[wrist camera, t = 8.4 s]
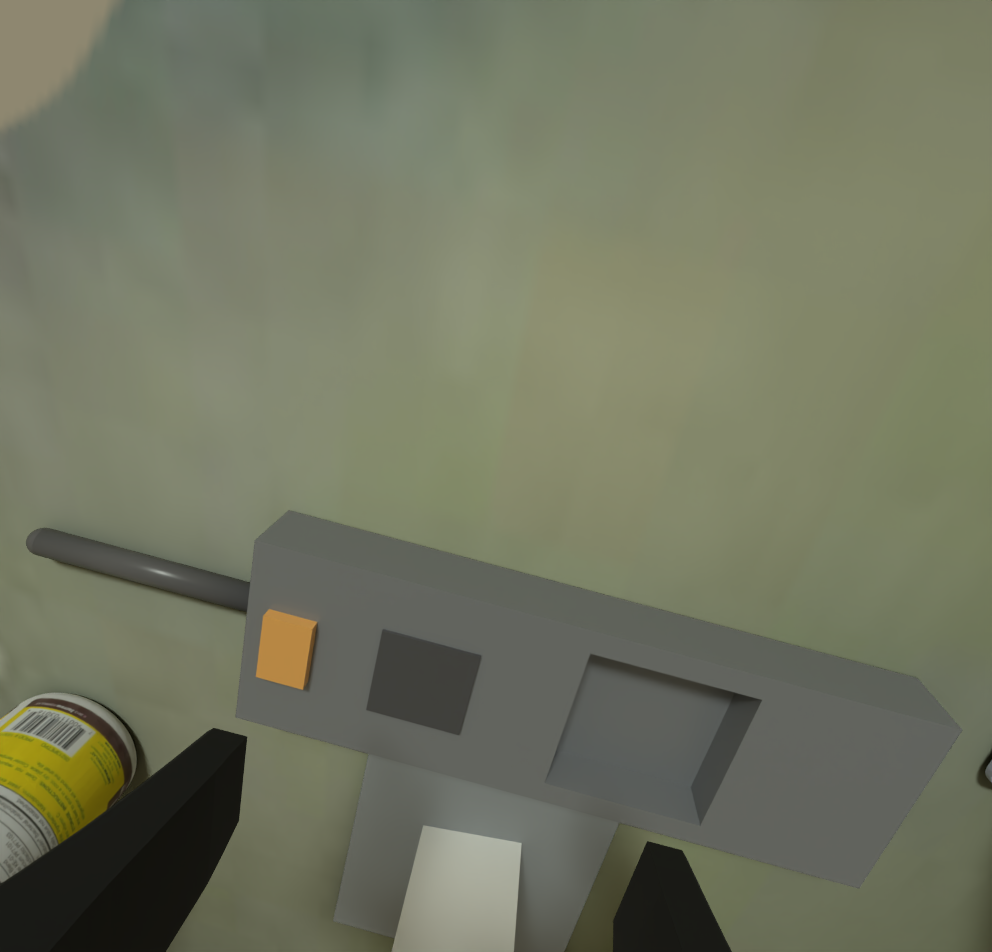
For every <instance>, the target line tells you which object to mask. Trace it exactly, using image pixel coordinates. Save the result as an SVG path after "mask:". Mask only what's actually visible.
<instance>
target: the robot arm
mask: <svg viewBox="0 0 992 952" xmlns="http://www.w3.org/2000/svg"><path fill="white" fill-rule="evenodd" d="M246 743H247V737H246V736H243V735H239V734H235V733H231V732H227V731H223V730H220V729H216V728H213V729H211V730H209V731H207V732H206V733H205V734H204V735H203V736H201V737H200V738H199V739H198V740H196V741H195V742H194V743H193V744H191V745H190V746H189V747H188V748H186V749H185V750H184V751H183V752H182V753H180V754H179V755H178V756H177V757H175V758H174V759H173V760H172V761H170V762H169V763H168V764H166V765H165V766H164V767H163V768H161V769H160V770H159V771H158V772H156V773H155V774H154V775H152V776H151V777H150V778H149V779H147V780H146V781H145V782H143V783H142V784H141V785H140V786H138V787H137V788H136V789H134V790H133V791H132V792H130V793H129V794H128V795H126V796H125V797H124V798H122V799H121V800H120V801H118V802H117V803H116V804H114V805H113V806H111V807H110V808H109V809H107V810H106V811H105V812H103V813H102V814H101V815H99V816H98V817H97V818H95V819H94V820H93V821H91V822H90V823H89V824H87V825H86V826H84V827H83V828H82V829H80V830H79V831H77V832H76V833H75V834H73V835H72V836H70V837H69V838H67V839H66V840H64V841H63V842H61V843H60V844H59V845H57V846H56V847H54V848H53V849H51V850H50V851H48V852H47V853H45V854H44V855H43V856H41V857H40V858H38V859H37V860H35V861H34V862H32V863H31V864H29V865H28V866H26V867H25V868H24V869H22V870H21V871H19V872H18V873H16V874H15V875H13V876H12V877H10V878H9V879H7V880H5V881H4V882H2V883H1V884H0V952H166V950H167V949H168V947H169V945H170V944H171V942H172V941H173V939H174V937H175V936H176V934H177V933H178V931H179V929H180V928H181V926H182V924H183V923H184V921H185V920H186V918H187V916H188V915H189V913H190V912H191V910H192V908H193V907H194V905H195V903H196V902H197V900H198V899H199V897H200V895H201V894H202V892H203V890H204V889H205V887H206V885H207V884H208V882H209V880H210V878H211V876H212V874H213V872H214V870H215V868H216V866H217V864H218V862H219V860H220V858H221V856H222V854H223V852H224V850H225V848H226V846H227V844H228V842H229V840H230V838H231V836H232V834H233V832H234V830H235V828H236V826H237V823H238V821H239V814H240V804H241V794H242V784H243V773H244V763H245V753H246ZM985 774H986V777H987V778H988V779H989V780H990V781H991V783H992V760H991V762H990V763H989V765H988V766H987V768H986V771H985ZM613 952H732V951H731V949H730V947H729V945H728V943H727V941H726V939H725V937H724V935H723V933H722V931H721V929H720V927H719V925H718V923H717V921H716V919H715V917H714V915H713V913H712V911H711V909H710V907H709V905H708V902H707V900H706V898H705V896H704V894H703V892H702V890H701V888H700V886H699V884H698V881H697V879H696V877H695V875H694V873H693V871H692V869H691V867H690V865H689V863H688V860H687V858H686V856H685V855H684V853H683V851H682V850H679V849H675V848H671V847H667V846H663V845H660V844H656V843H652V842H648V841H647V843H646V846H645V848H644V850H643V853H642V855H641V857H640V859H639V862H638V864H637V866H636V869H635V871H634V873H633V876H632V878H631V880H630V883H629V885H628V887H627V890H626V892H625V894H624V897H623V899H622V901H621V904H620V906H619V908H618V911H617V913H616V915H615V918H614V920H613Z"/></svg>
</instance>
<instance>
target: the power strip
mask: <svg viewBox="0 0 992 952" xmlns="http://www.w3.org/2000/svg"><path fill="white" fill-rule="evenodd" d="M26 546H27V548H28V550H29V551H30V552H31V553H33V554H35V555H38V556H42V557H45V558H49V559H53V560H56V561H60V562H64V563H67V564H71V565H75V566H78V567H82V568H86V569H90V570H93V571H97V572H101V573H104V574H108V575H112V576H115V577H119V578H123V579H126V580H130V581H134V582H137V583H141V584H145V585H149V586H152V587H156V588H160V589H163V590H167V591H171V592H174V593H178V594H182V595H185V596H189V597H193V598H197V599H200V600H204V601H208V602H211V603H215V604H219V605H222V606H226V607H230V608H233V609H237V610H241V611H244V612H247V617H246V626H245V635H244V645H243V654H242V663H241V672H240V681H239V690H238V700H237V709H236V718H240V719H244V720H247V721H251V722H255V723H258V724H262V725H266V726H269V727H273V728H276V729H280V730H284V731H287V732H291V733H295V734H298V735H302V736H306V737H309V738H313V739H317V740H320V741H324V742H327V743H331V744H335V745H338V746H342V747H346V748H349V749H353V750H357V751H360V752H364V753H367V754H371V755H375V756H378V757H382V758H386V759H389V760H393V761H397V762H400V763H404V764H408V765H411V766H415V767H418V768H422V769H426V770H429V771H433V772H437V773H440V774H444V775H448V776H451V777H455V778H458V779H462V780H466V781H469V782H473V783H477V784H480V785H484V786H488V787H491V788H495V789H498V790H502V791H506V792H509V793H513V794H517V795H520V796H524V797H528V798H531V799H535V800H539V801H542V802H546V803H549V804H553V805H557V806H560V807H564V808H568V809H571V810H575V811H579V812H582V813H586V814H589V815H593V816H597V817H600V818H604V819H608V820H611V821H615V822H619V823H622V824H626V825H629V826H633V827H637V828H640V829H644V830H648V831H651V832H655V833H659V834H662V835H666V836H670V837H673V838H677V839H680V840H684V841H688V842H691V843H695V844H699V845H702V846H706V847H710V848H713V849H717V850H720V851H724V852H728V853H731V854H735V855H739V856H742V857H746V858H750V859H753V860H757V861H760V862H764V863H768V864H771V865H775V866H779V867H782V868H786V869H790V870H793V871H797V872H801V873H804V874H808V875H811V876H815V877H819V878H822V879H826V880H830V881H833V882H837V883H841V884H844V885H848V886H851V887H855V888H860V886H861V885H862V883H863V882H864V880H865V879H866V877H867V876H868V874H869V873H870V871H871V870H872V868H873V867H874V865H875V863H876V862H877V860H878V859H879V857H880V856H881V854H882V853H883V851H884V850H885V848H886V847H887V845H888V844H889V842H890V840H891V839H892V837H893V836H894V834H895V833H896V831H897V830H898V828H899V827H900V825H901V824H902V822H903V821H904V819H905V817H906V816H907V814H908V813H909V811H910V810H911V808H912V807H913V805H914V804H915V802H916V801H917V799H918V798H919V796H920V795H921V793H922V791H923V790H924V788H925V787H926V785H927V784H928V782H929V781H930V779H931V778H932V776H933V775H934V773H935V772H936V770H937V768H938V767H939V765H940V764H941V762H942V761H943V759H944V758H945V756H946V755H947V753H948V752H949V750H950V749H951V747H952V745H953V744H954V742H955V741H956V739H957V738H958V736H959V735H960V733H961V732H962V729H961V728H960V727H959V725H958V724H957V723H956V722H955V721H954V720H953V718H952V717H951V716H950V715H949V714H948V713H947V712H946V710H945V709H944V708H943V707H942V706H941V705H940V703H939V702H938V701H937V700H936V699H935V698H934V697H933V695H932V694H931V693H930V692H929V691H928V690H927V688H926V687H925V686H924V685H923V684H922V683H921V682H920V680H919V679H918V678H915V677H911V676H907V675H904V674H900V673H896V672H892V671H889V670H885V669H881V668H877V667H874V666H870V665H866V664H862V663H859V662H855V661H851V660H847V659H844V658H840V657H836V656H832V655H829V654H825V653H821V652H817V651H814V650H810V649H806V648H802V647H799V646H795V645H791V644H788V643H784V642H780V641H776V640H773V639H769V638H765V637H761V636H758V635H754V634H750V633H746V632H743V631H739V630H735V629H731V628H728V627H724V626H720V625H716V624H713V623H709V622H705V621H701V620H698V619H694V618H690V617H686V616H683V615H679V614H675V613H671V612H668V611H664V610H660V609H656V608H653V607H649V606H645V605H641V604H638V603H634V602H630V601H626V600H623V599H619V598H615V597H611V596H608V595H604V594H600V593H597V592H593V591H589V590H585V589H582V588H578V587H574V586H570V585H567V584H563V583H559V582H555V581H552V580H548V579H544V578H540V577H537V576H533V575H529V574H525V573H522V572H518V571H514V570H510V569H507V568H503V567H499V566H495V565H492V564H488V563H484V562H480V561H477V560H473V559H469V558H465V557H462V556H458V555H454V554H450V553H447V552H443V551H439V550H435V549H432V548H428V547H424V546H420V545H417V544H413V543H409V542H405V541H402V540H398V539H394V538H391V537H387V536H383V535H379V534H376V533H372V532H368V531H364V530H361V529H357V528H353V527H349V526H346V525H342V524H338V523H334V522H331V521H327V520H323V519H319V518H316V517H312V516H308V515H304V514H301V513H297V512H293V511H287V512H286V513H285V514H284V515H283V516H282V517H281V518H280V519H278V520H277V521H276V522H275V523H274V524H273V525H272V526H270V527H269V528H268V529H267V530H266V531H265V532H264V533H262V534H261V535H260V536H259V537H258V538H257V539H256V540H255V544H254V553H253V562H252V571H251V580H250V582H246V581H242V580H239V579H235V578H231V577H228V576H224V575H220V574H217V573H213V572H209V571H205V570H202V569H198V568H194V567H191V566H187V565H183V564H179V563H176V562H172V561H168V560H165V559H161V558H157V557H154V556H150V555H146V554H142V553H139V552H135V551H131V550H128V549H124V548H120V547H116V546H113V545H109V544H105V543H102V542H98V541H94V540H91V539H87V538H83V537H79V536H76V535H72V534H68V533H65V532H61V531H57V530H53V529H50V528H40V529H37V530H34V531H33V532H31V533H30V534H29V536H28V537H27V540H26Z"/></svg>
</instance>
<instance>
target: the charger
mask: <svg viewBox="0 0 992 952" xmlns="http://www.w3.org/2000/svg"><path fill="white" fill-rule="evenodd" d="M521 845H522V843H518V842H513V841H507V840H502V839H496V838H491V837H485V836H480V835H474V834H469V833H463V832H458V831H452V830H447V829H441V828H436V827H430V826H425V825H423V828H422V832H421V836H420V840H419V844H418V848H417V852H416V856H415V860H414V864H413V868H412V872H411V876H410V880H409V884H408V888H407V892H406V896H405V900H404V904H403V908H402V912H401V916H400V920H399V924H398V928H397V932H396V936H395V940H394V944H393V948H392V952H514V942H515V928H516V914H517V901H518V887H519V873H520V859H521Z"/></svg>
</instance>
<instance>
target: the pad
mask: <svg viewBox="0 0 992 952" xmlns="http://www.w3.org/2000/svg"><path fill="white" fill-rule="evenodd" d="M423 825H425V826H430V827H436V828H441V829H447V830H452V831H458V832H463V833H469V834H474V835H480V836H485V837H491V838H496V839H502V840H507V841H513V842H518V843H522V845H521V859H520V873H519V887H518V901H517V914H516V928H515V942H514V952H564V951H565V949H566V947H567V944H568V942H569V940H570V937H571V935H572V933H573V930H574V928H575V926H576V923H577V921H578V919H579V916H580V914H581V911H582V909H583V907H584V904H585V902H586V900H587V897H588V895H589V893H590V890H591V888H592V886H593V883H594V881H595V879H596V876H597V874H598V872H599V869H600V867H601V865H602V862H603V860H604V857H605V855H606V853H607V850H608V848H609V846H610V843H611V841H612V839H613V836H614V834H615V832H616V829H617V827H618V825H619V822H615V821H611V820H608V819H604V818H600V817H597V816H593V815H589V814H586V813H582V812H579V811H575V810H571V809H568V808H564V807H560V806H557V805H553V804H549V803H546V802H542V801H539V800H535V799H531V798H528V797H524V796H520V795H517V794H513V793H509V792H506V791H502V790H498V789H495V788H491V787H488V786H484V785H480V784H477V783H473V782H469V781H466V780H462V779H458V778H455V777H451V776H448V775H444V774H440V773H437V772H433V771H429V770H426V769H422V768H418V767H415V766H411V765H408V764H404V763H400V762H397V761H393V760H389V759H386V758H382V757H378V756H375V755H371V754H369V755H368V760H367V764H366V769H365V774H364V778H363V783H362V788H361V793H360V797H359V802H358V807H357V811H356V816H355V821H354V825H353V830H352V835H351V839H350V844H349V849H348V853H347V858H346V863H345V868H344V872H343V877H342V882H341V886H340V891H339V896H338V900H337V905H336V910H335V914H334V919H333V921H334V922H338V923H342V924H345V925H349V926H352V927H356V928H359V929H363V930H366V931H370V932H374V933H377V934H381V935H384V936H388V937H391V938H395V936H396V932H397V928H398V924H399V920H400V916H401V912H402V908H403V904H404V900H405V896H406V892H407V888H408V884H409V880H410V876H411V872H412V868H413V864H414V860H415V856H416V852H417V848H418V844H419V840H420V836H421V832H422V828H423Z"/></svg>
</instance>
